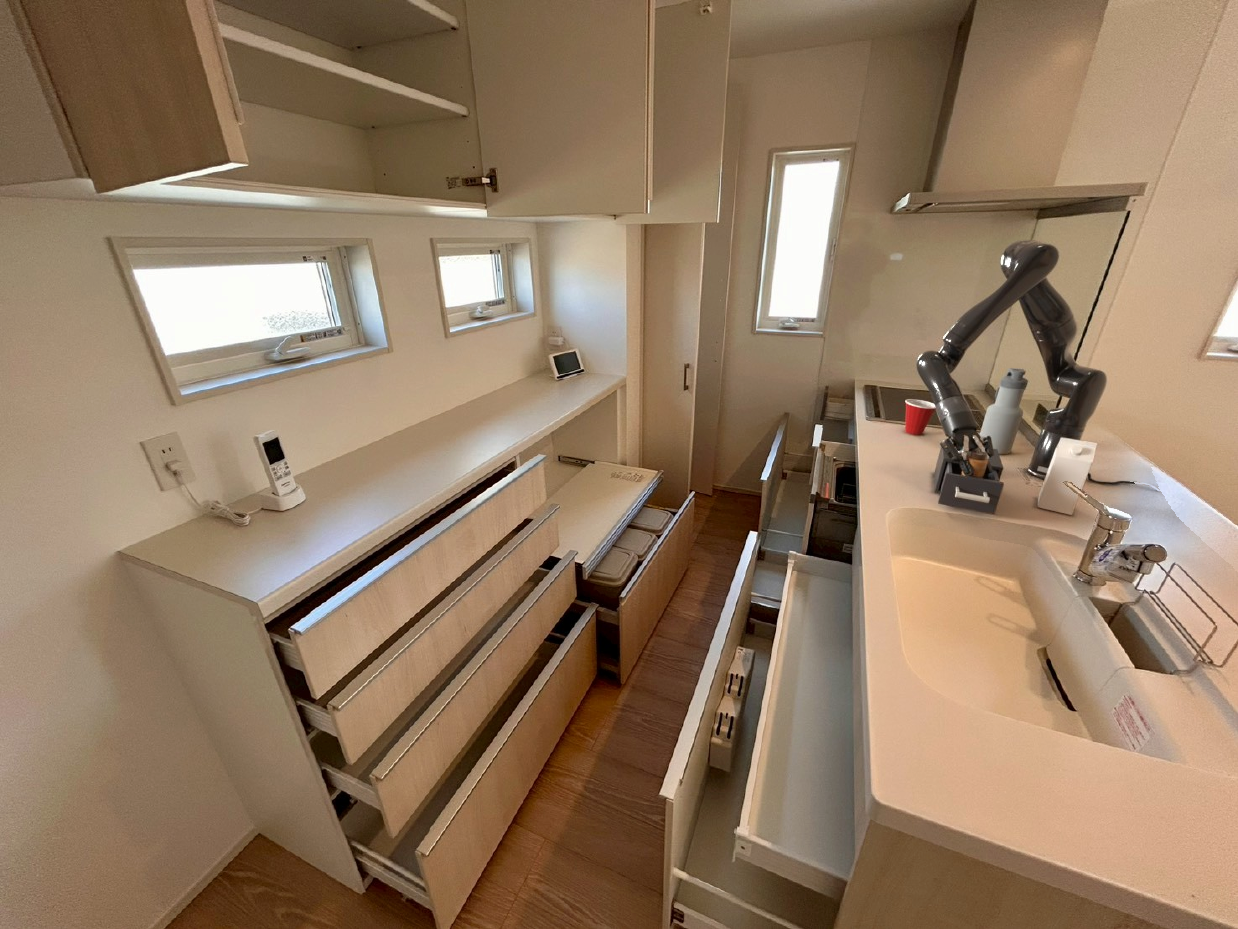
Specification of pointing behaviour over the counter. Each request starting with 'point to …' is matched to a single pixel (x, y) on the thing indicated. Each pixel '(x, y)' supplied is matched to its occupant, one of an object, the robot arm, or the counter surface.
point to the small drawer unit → (943, 458)
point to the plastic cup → (917, 415)
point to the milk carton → (1066, 475)
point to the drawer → (969, 490)
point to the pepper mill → (977, 463)
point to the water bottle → (1005, 411)
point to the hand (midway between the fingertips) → (978, 474)
